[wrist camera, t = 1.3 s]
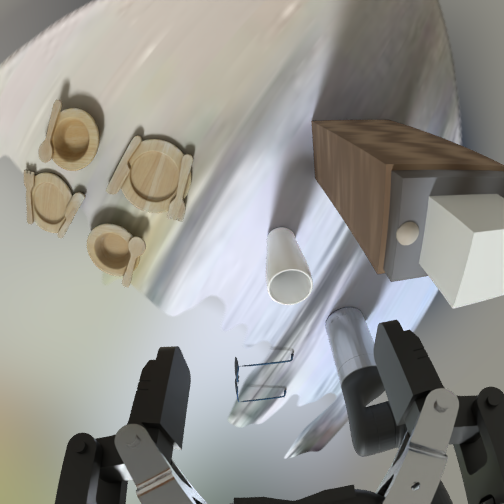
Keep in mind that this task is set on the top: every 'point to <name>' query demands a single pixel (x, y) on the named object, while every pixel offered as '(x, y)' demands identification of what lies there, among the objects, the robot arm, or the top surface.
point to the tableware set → (125, 177)
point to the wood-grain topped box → (394, 184)
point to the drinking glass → (286, 268)
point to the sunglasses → (255, 365)
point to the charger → (465, 247)
